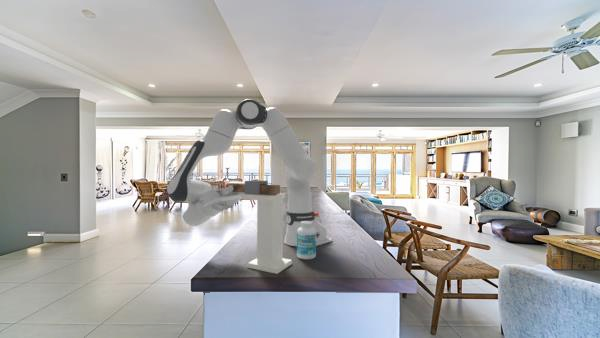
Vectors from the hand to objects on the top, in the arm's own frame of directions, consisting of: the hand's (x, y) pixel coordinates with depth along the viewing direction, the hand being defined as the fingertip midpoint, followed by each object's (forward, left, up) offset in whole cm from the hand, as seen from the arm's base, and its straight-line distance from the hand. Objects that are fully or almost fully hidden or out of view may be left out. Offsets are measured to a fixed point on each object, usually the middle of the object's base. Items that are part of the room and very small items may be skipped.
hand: (238, 186), depth 101 cm
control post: (-7, +11, -27) cm, 30 cm away
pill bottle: (-23, +11, -27) cm, 38 cm away
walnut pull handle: (-4, +6, -2) cm, 7 cm away
